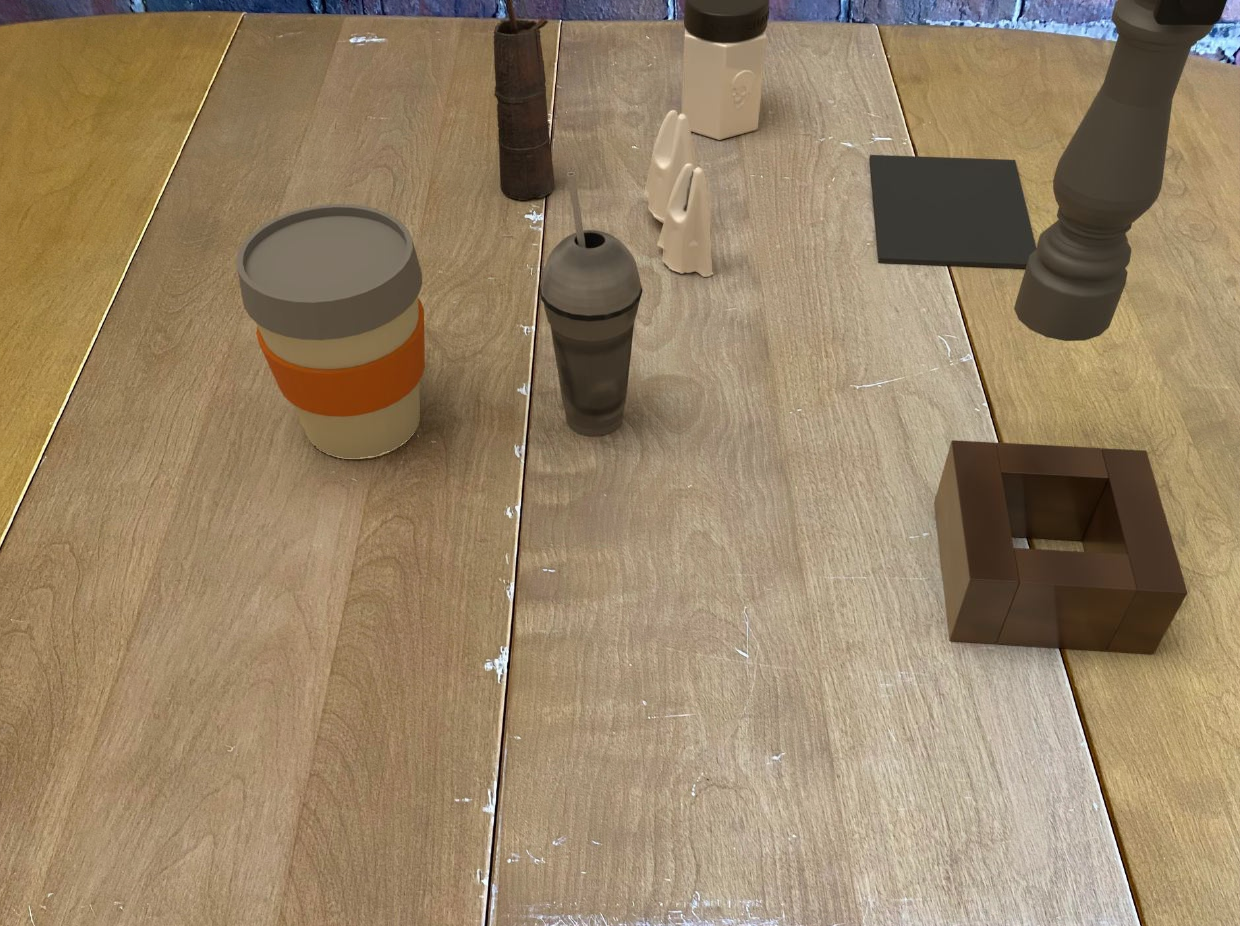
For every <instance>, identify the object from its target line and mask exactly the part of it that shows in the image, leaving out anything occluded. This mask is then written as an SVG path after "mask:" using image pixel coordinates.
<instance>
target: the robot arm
mask: <svg viewBox="0 0 1240 926" xmlns="http://www.w3.org/2000/svg"><path fill="white" fill-rule="evenodd" d="M1227 2H1228V0H1158V1H1157V4H1156V7H1155V10H1154V14H1153V15H1154V19H1155V21H1156V22H1157V23H1158V24H1160V25H1213V24H1214V25H1215V24H1217V23H1219V22H1220V20H1221V19H1222V16H1223V13H1224V10H1225V8H1226V6H1227V5H1226V4H1227Z"/></svg>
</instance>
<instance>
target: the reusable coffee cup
mask: <svg viewBox="0 0 1240 926" xmlns="http://www.w3.org/2000/svg"><path fill="white" fill-rule="evenodd" d="M235 264H236V269H237V274H238V279H239V287H240V292H241V298H242V304H243V307H244V310H245V312H246V313H247V315H248V316H249V318H250V319H251V320H253V321H254V322H255V324H256V332H255V333H256V339H257V343H258V345H259V347H260V349H261V352H262V354H263V356H264V359H265V360H266V363H267V364H268V367H269V369H270V371H271V373H272V375H273V378H274V380H275V382H276V384H277V387H278V389H279V390H280V393H282V394H281V395H282V396H283V398H285V399H286V400H287V401H288V402H290V404H292V406H293V408H294V410H295V413H296V415H297V418H298V419H299V421H300V424H301V426H302V428H303V431H304V433H305V435H306V438H307V439H308V438H309V439H308V441H309V440H310V441H309V442H310V444H311V443H313V444H314V445H315V446H316V447H317V448H318V449H320V450H321V451H324V452H325V453H328V454H331V455H334V456H339V457H343V458H360V457H368V456H376V455H379V454H381V453H383V452H387V451H391V450H392V449H394V448H395V447H398V446H400V445H401V444H402V443H404V442H405V441H406V440H408V439H409V437H411V435H412V434H413V433H414V432H415V431H416V432H417V430H418V429H417V427H418V428H419V426H418V425H420V423H419V422H420V421H421V395H420V393H421V392H420V391H421V388H420V387H421V385H420V381H421V379H422V378H423V375H424V371H425V368H426V358H425V356H426V355H425V354H426V353H425V352H426V349H425V309H424V307H423V304H422V301H421V299H420V298H419V295H420V292H421V289H422V286H423V272H422V268H421V264H420V261H419V258H418V254H417V251H416V247H415V244H414V240H413V237H412V234H411V232H410V230H409V228H408V227H407V226H406V225H405V224H404V223H403V222H402V221H401V220H399V219H398V218H397V217H395V216H394V215H392V214H390V213H388V212H386V211H384V210H381V209H378V208H374V207H371V206H365V205H359V204H351V203H349V204H347V203H333V204H332V203H330V204H319V205H313V206H309V207H303V208H300V209H296V210H292V211H289V212H285V213H284V214H281V215H279V216H277V217H274V218H272V219H270V220H269V221H267V222H265V223H263V224H262V225H260V226H259V227H258V228H256V229H255V230H254V231H253V232H252V233H250V234H249V235H248V237H246V239H245V240H244V241H243V242H242V243H241V246H240V248H239V250H238V252H237V256H236V263H235ZM416 429H417V430H416ZM416 432H415V433H416ZM321 451H320V452H321Z"/></svg>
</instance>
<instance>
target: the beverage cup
mask: <svg viewBox="0 0 1240 926" xmlns="http://www.w3.org/2000/svg"><path fill="white" fill-rule="evenodd" d="M566 177H567V181H568V188H569V195H570V202H571V208H572V214H573V221H574V226H575V228H574V229H575V232H574V233H571V234H570V235H568V236H566V237H565V238H562V240H561V241H559V243H557V244H556V245H555V247H553V249H551V251H550V253H549V255H548V257H547V259H546V262H545V265H544V268H543V270H542V274H541V284H540V287H539V296H540V301H541V302H542V303H543V308H544V312H545V316H546V319H547V322H548V323H549V325H550V332H551V339H552V345H553V351H554V357H555V364H556V370H557V376H558V377H557V378H558V382H559V388H560V395H561V396H560V397H561V401H562V408H563V409H564V410H563V411H564V414H565V420H566V422H565V423H566V424H567V426H568V427H569V429H570V430H572V431H574V432H575V433H577V434H580V435H583V436H587V437H600V436H601V437H602V436H605V435H608V434H611V433H613V432H614V431H617V430H618V429H619V427H620V426H621V425H622V424H623V420H624V412H625V406H626V403H627V396H628V385H629V377H630V376H629V375H630V368H631V367H630V365H631V356H632V348H633V347H632V346H633V337H634V329H635V321H636V318H637V315H638V309H639V306H640V302H641V298H642V294H643V286H642V282H641V277H640V273H639V270H638V266H637V262H636V259H635V258H634V255H633V254H632V252H631V251H630V250H629V248H628V247H627V246H626V245H625V244H624V243H623V242H622V240H620V239H619V238H617V237H615V236H613V235H612V234H611V233H608V232H604V231H601V230H595V229H586V230H584V225H583V222H582V214H581V207H580V200H579V194H578V187H577V180H576V174H575V172H574V171H570V172H568V173H567V175H566Z"/></svg>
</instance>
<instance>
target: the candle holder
mask: <svg viewBox="0 0 1240 926" xmlns="http://www.w3.org/2000/svg"><path fill="white" fill-rule="evenodd" d="M1157 1H1158V0H1116V1H1115V3H1114V4H1113V5H1114V6H1113V10H1112V14H1111V22H1112V23H1113V24H1114V26H1115V27H1116V34H1117V39H1116V42H1115V45H1114V49H1113V51H1112V55H1111V58H1110V61H1109V63H1108V64H1109V65H1108V67H1107V71H1106V73H1105V76H1104V80H1103V83H1102V85H1101V86H1100V88H1099V90H1098V92H1097V93H1096V95H1095V97H1094V99H1093V100H1092V102H1091V104H1090V106H1089V107H1088V110H1087V111H1086V113H1085V115H1084V117H1083V118H1082V120H1081V122H1080V123H1079V125H1078V127H1077V129H1076V130H1075V132H1074V134H1073V136H1072V137H1071V139H1070V140H1069V143H1068V144H1067V146H1066V148H1065V150H1064V151H1063V153H1062V155H1061V157H1060V158H1059V160H1058V162H1057V166H1056V168H1055V173H1054V177H1053V179H1052V185H1053V186H1052V190H1053V195H1054V199H1055V202H1056V204H1057V206H1058V208H1057V212H1056V218H1057V220H1056V221H1055V222H1054V223H1052V224H1051V225H1049V226H1048V227H1047V228H1046V229H1044V230H1043V231H1042V232H1041V233H1040V234H1039V237H1038V240H1037V243H1036V250H1035V251H1034V252H1033V253H1031V254H1030V256H1029V259H1028V263H1027V266H1026V269H1024V273H1023V276H1022V281H1021V283H1020V286H1019V290H1018V293H1017V296H1016V300H1015V302H1014V303H1015V304H1014V307H1013V310H1014V312H1015V315H1016V317H1017V319H1018V321H1019V322H1021V323H1022V324H1023V325H1024V326H1025V327H1026V328H1027V329H1029V330H1030V331H1032V332H1035V333H1036V334H1038V335H1041V336H1043V337H1045V338H1048V339H1052V340H1053V339H1054V340H1058V341H1062V342H1063V341H1064V342H1079V341H1084V342H1085V341H1088V340H1091V339H1094V338H1097V337H1100V336H1101V335H1102V334H1104V333H1105V331H1107V330H1109V328H1110V326H1111V324H1112V321H1113V318H1114V316H1115V313H1116V310H1117V308H1118V306H1119V302H1120V300H1121V297H1122V296H1123V292H1124V289H1125V287H1126V284H1127V279H1128V274H1129V273H1128V270H1127V267H1128V266H1129V264H1130V263H1131V256H1132V247H1131V245H1130V244H1129V239H1128V236H1127V233H1128V232H1129V231H1130V230H1131V229H1132V225H1133V224H1134V223H1135V222H1136V221H1137V220H1139V219H1140V218H1141V217H1142V216H1143V215H1144V214H1145V213H1147V212H1148V211H1149V209H1151V207H1153V205H1154V204H1155V202H1156V201H1157V200H1158V198H1159V196H1160V193H1161V190H1162V186H1163V180H1164V173H1165V163H1166V157H1167V156H1166V155H1167V146H1168V139H1169V138H1168V137H1169V131H1170V125H1171V124H1170V123H1171V122H1170V121H1171V117H1172V116H1171V115H1172V108H1173V100H1174V96H1175V94H1176V91H1177V88H1178V85H1179V82H1180V80H1181V77H1182V74H1183V71H1184V68H1185V66H1186V63H1187V61H1188V59H1189V55H1190V53H1191V50H1192V47H1194V46H1195V45H1196V44H1197V43H1198V42H1199V41H1202V39H1204V38H1205V37H1206V36H1208V35H1209V34H1210V33H1211V32H1212V30H1213V29H1214V26H1215V24H1213V25H1160V24H1158V23H1157V22H1156V21H1155V19H1154V15H1153V14H1154V10H1155V7H1156V4H1157Z"/></svg>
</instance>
